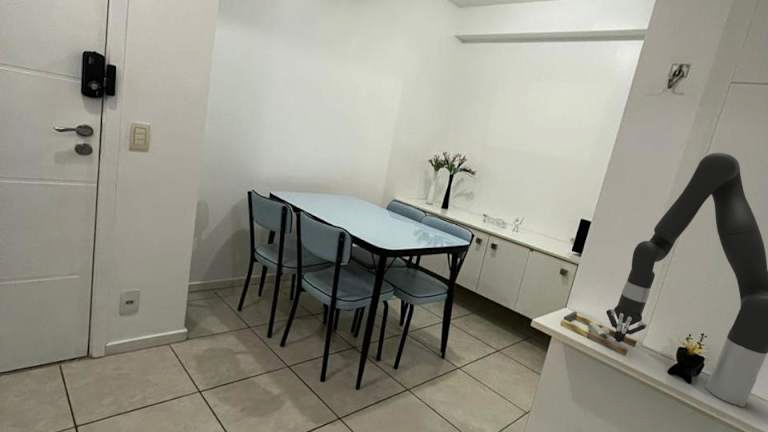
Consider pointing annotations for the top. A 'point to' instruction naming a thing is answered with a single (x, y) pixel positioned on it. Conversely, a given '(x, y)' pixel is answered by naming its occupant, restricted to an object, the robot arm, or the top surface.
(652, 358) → the top surface
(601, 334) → the pipe fitting
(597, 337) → the rail
